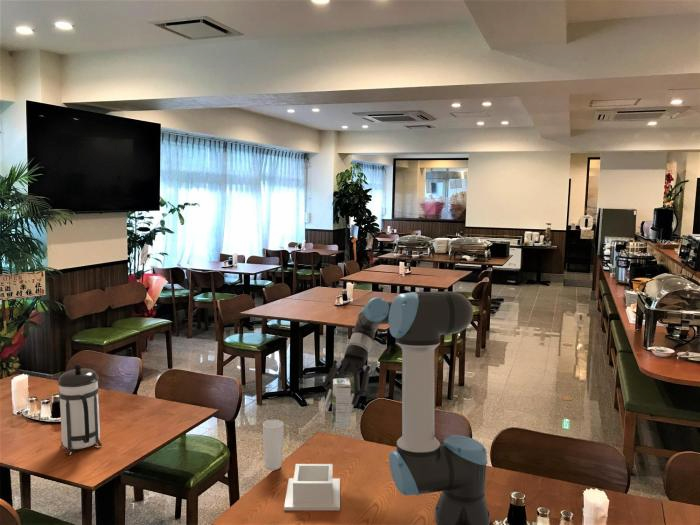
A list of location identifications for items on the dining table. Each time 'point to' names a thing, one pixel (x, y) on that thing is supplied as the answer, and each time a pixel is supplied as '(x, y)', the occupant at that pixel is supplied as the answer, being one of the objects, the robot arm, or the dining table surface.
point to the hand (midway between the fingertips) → (336, 411)
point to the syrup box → (340, 402)
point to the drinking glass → (273, 443)
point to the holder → (313, 488)
